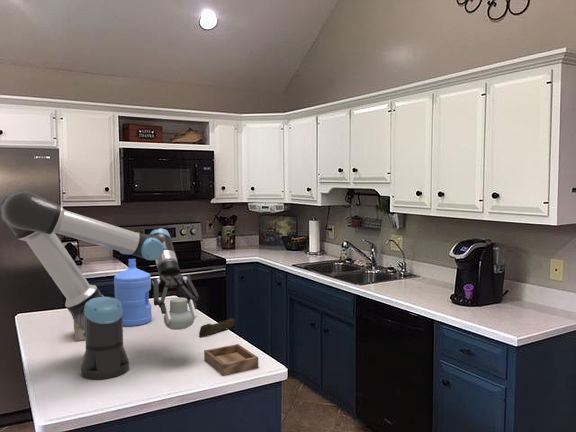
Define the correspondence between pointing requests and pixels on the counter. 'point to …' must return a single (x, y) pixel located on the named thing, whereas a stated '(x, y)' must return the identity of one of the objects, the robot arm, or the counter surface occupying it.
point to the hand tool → (216, 327)
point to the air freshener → (179, 315)
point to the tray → (230, 359)
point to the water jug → (134, 295)
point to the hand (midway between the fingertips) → (182, 319)
